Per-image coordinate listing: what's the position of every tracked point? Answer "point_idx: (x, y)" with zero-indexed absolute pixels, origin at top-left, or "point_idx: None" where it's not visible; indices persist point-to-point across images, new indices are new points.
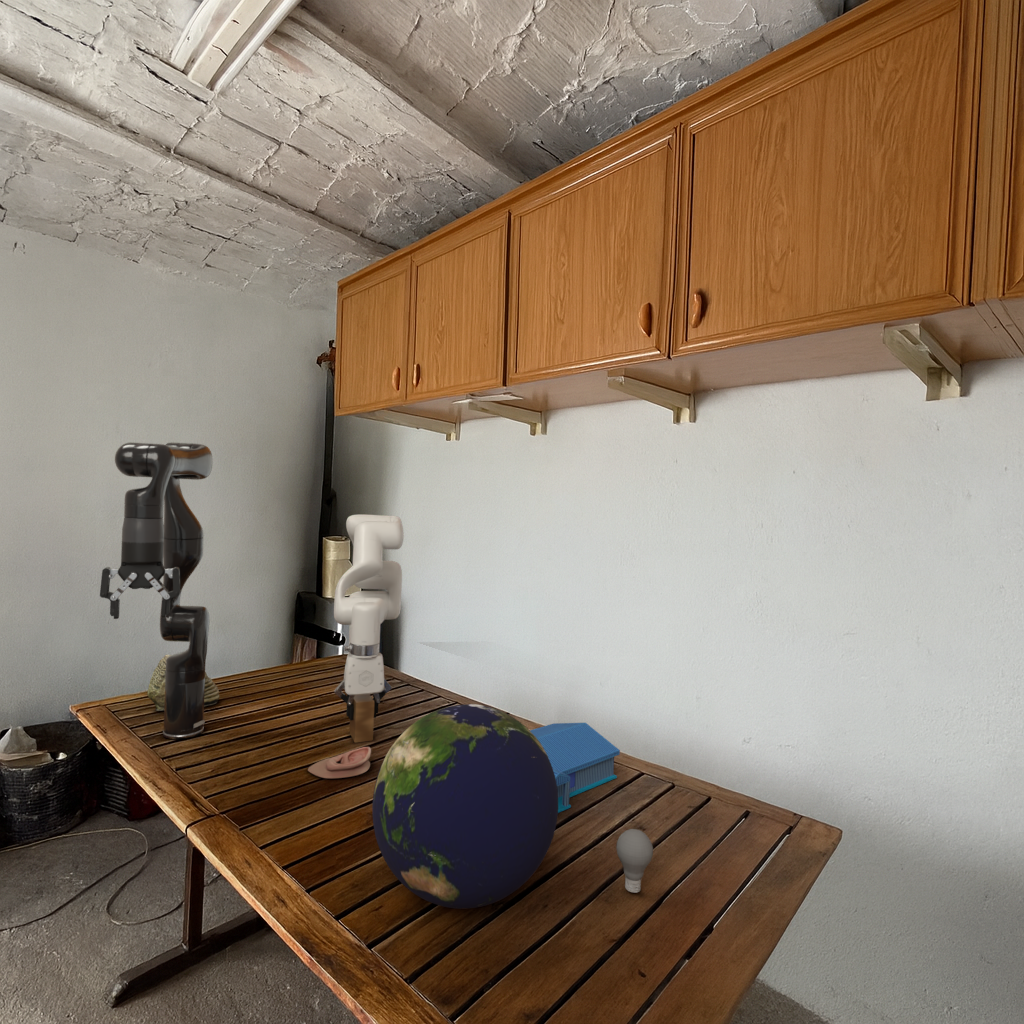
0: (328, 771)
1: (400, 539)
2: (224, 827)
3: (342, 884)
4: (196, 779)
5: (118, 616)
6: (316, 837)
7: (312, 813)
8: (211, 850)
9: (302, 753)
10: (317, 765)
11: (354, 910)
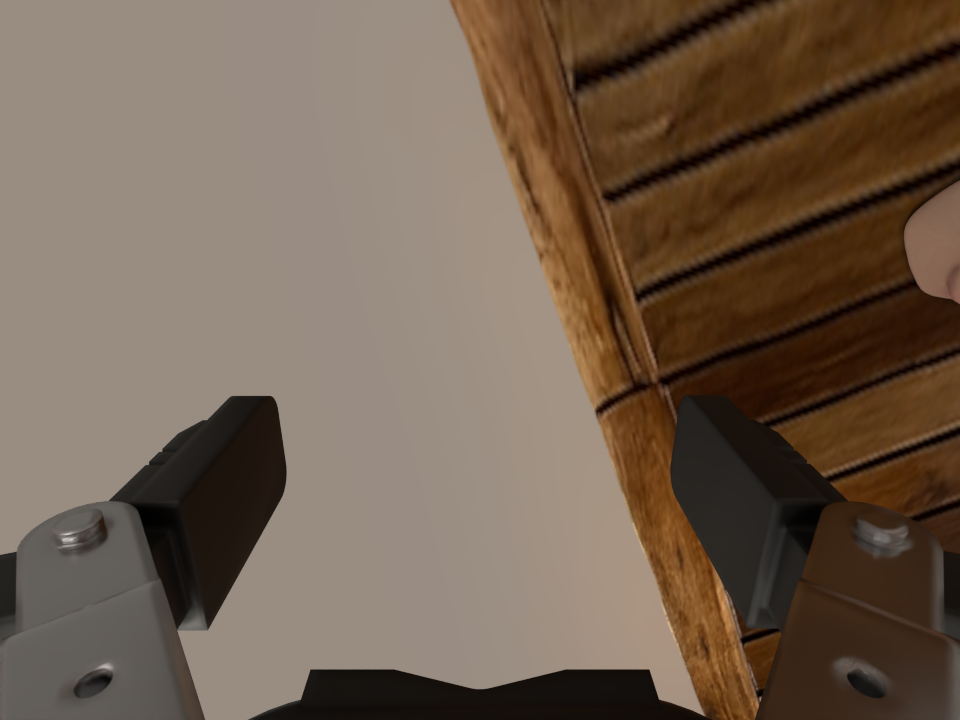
0: (945, 285)
1: None
2: (659, 440)
3: None
4: (624, 178)
5: (275, 439)
6: None
7: (829, 440)
8: (629, 507)
9: (942, 75)
10: (937, 241)
11: None
